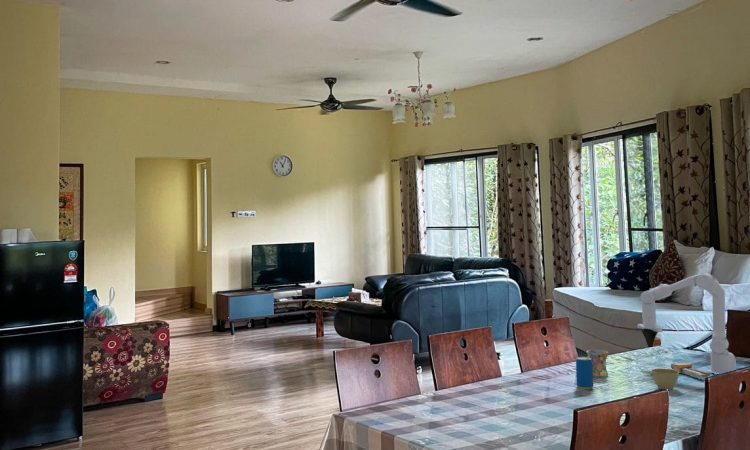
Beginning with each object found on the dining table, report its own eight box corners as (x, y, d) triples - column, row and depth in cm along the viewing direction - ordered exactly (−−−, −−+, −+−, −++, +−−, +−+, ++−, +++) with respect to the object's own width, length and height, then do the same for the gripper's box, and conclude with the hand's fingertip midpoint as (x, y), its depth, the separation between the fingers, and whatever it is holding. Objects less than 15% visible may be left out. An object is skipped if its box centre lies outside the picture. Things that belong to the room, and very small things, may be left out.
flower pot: (676, 393, 236) (676, 374, 236) (649, 390, 242) (648, 371, 243) (682, 387, 244) (681, 369, 244) (655, 384, 250) (654, 367, 250)
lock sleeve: (688, 371, 272) (688, 363, 272) (692, 372, 270) (692, 364, 270) (674, 372, 270) (674, 364, 270) (678, 373, 268) (678, 365, 268)
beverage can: (594, 389, 245) (593, 359, 245) (577, 389, 246) (576, 359, 247) (592, 385, 252) (591, 356, 252) (575, 385, 253) (574, 356, 253)
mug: (596, 372, 275) (595, 349, 276) (613, 376, 267) (613, 352, 268) (578, 376, 269) (577, 352, 270) (595, 380, 261) (594, 355, 262)
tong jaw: (675, 371, 271) (675, 367, 271) (681, 371, 271) (680, 366, 271) (700, 379, 255) (700, 374, 255) (706, 379, 255) (706, 374, 255)
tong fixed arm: (674, 368, 279) (674, 363, 279) (710, 378, 258) (710, 372, 258) (666, 369, 277) (666, 364, 278) (701, 379, 257) (701, 373, 257)
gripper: (631, 315, 290) (632, 343, 290) (652, 318, 276) (653, 348, 276) (644, 314, 292) (645, 342, 292) (665, 317, 278) (666, 347, 278)
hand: (650, 345), depth 284 cm, fingers closed
